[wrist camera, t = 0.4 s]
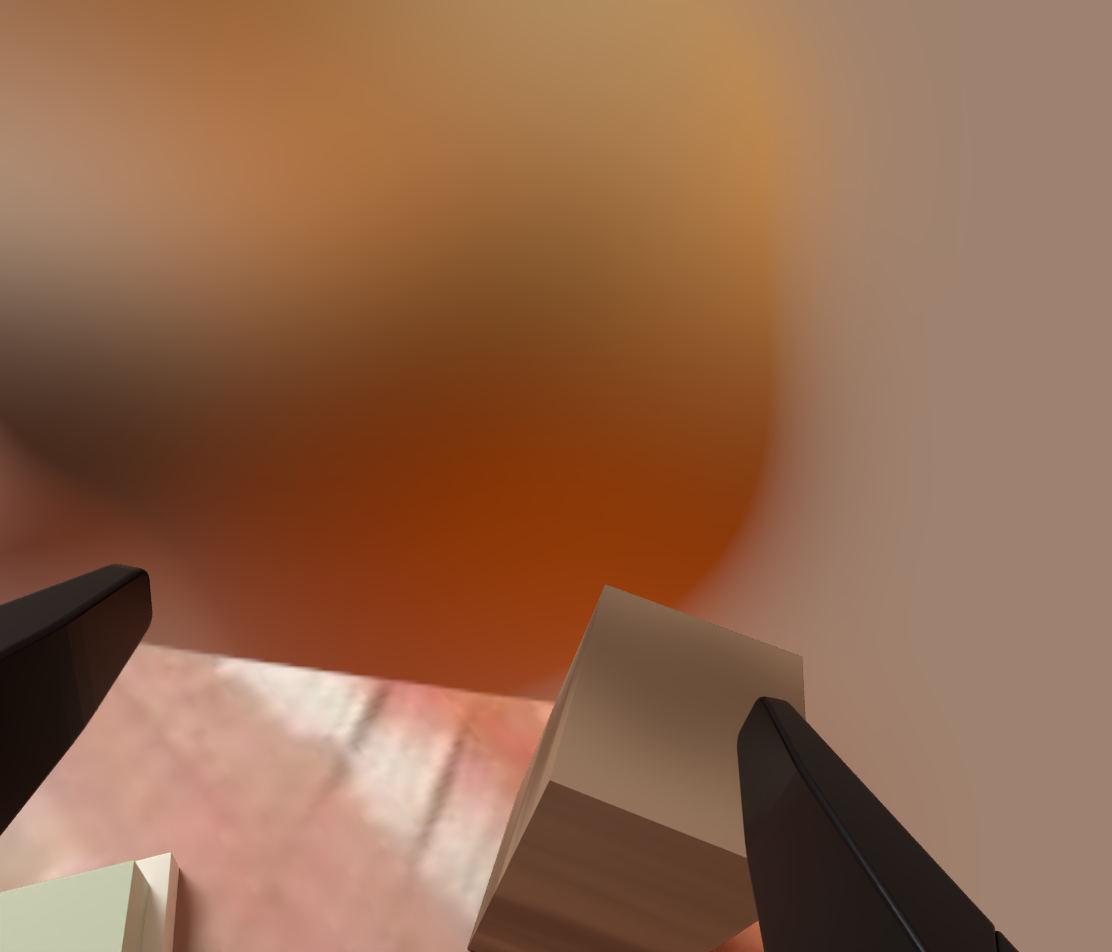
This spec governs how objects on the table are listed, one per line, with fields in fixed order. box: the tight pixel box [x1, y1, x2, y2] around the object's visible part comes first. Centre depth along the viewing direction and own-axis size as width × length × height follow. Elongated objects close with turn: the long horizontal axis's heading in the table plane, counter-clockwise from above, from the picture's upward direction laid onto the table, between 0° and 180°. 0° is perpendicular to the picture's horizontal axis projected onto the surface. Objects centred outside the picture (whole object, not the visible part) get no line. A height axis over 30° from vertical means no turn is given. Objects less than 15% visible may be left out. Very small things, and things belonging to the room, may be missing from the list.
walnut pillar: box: [467, 585, 805, 952], centre depth 17 cm, size 5×5×12 cm
